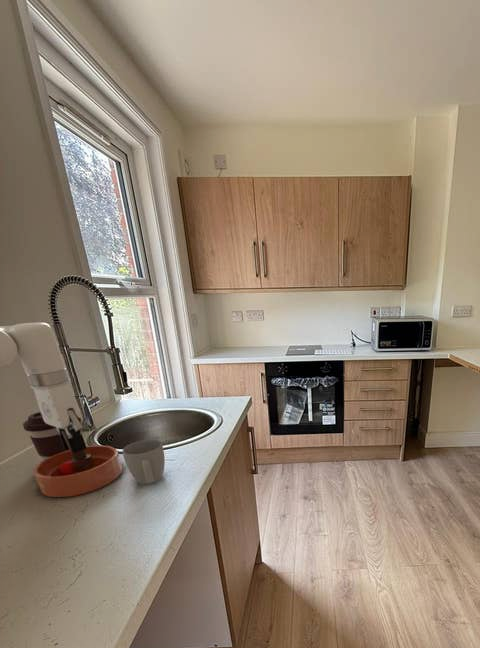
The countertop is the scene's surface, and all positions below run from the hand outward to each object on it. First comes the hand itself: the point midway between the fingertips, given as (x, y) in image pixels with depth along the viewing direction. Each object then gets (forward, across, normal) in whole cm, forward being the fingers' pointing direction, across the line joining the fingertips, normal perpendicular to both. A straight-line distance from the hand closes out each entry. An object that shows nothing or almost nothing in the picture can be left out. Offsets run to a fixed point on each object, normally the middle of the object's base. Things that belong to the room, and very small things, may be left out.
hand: (75, 448), depth 88 cm
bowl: (+8, +2, -1) cm, 9 cm away
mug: (+9, +19, +6) cm, 22 cm away
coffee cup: (+8, -14, 0) cm, 16 cm away
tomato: (+5, -2, -2) cm, 6 cm away
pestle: (+6, +1, 0) cm, 6 cm away
